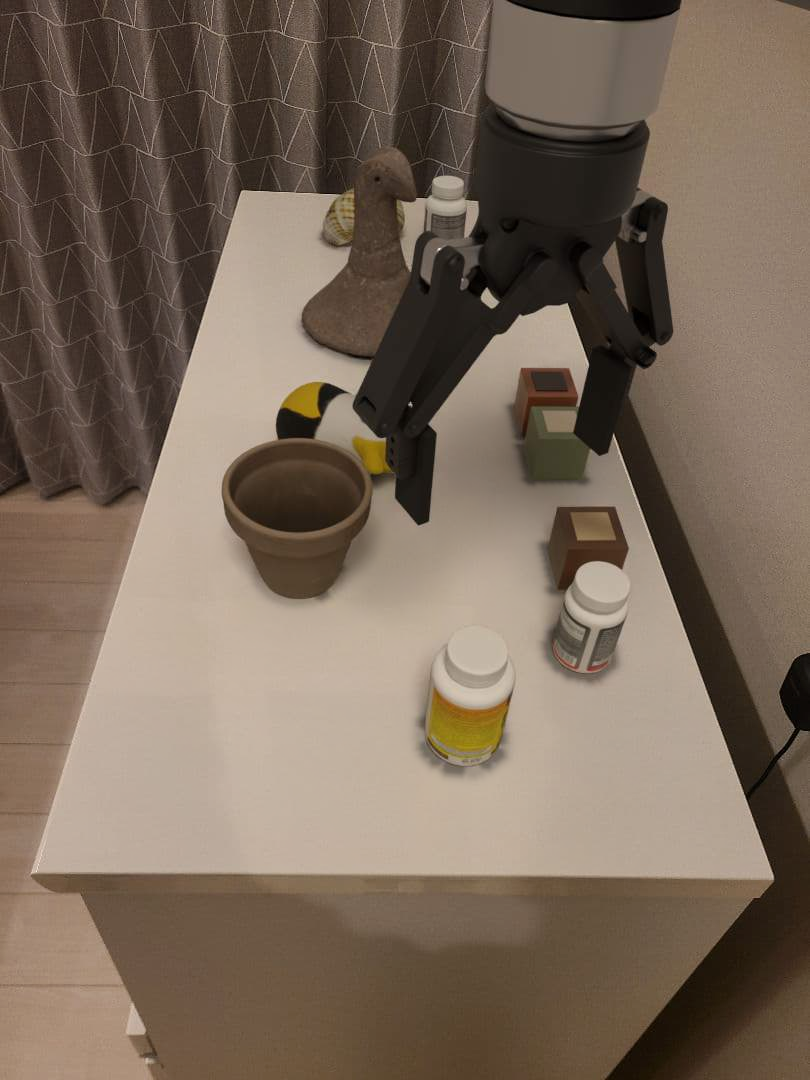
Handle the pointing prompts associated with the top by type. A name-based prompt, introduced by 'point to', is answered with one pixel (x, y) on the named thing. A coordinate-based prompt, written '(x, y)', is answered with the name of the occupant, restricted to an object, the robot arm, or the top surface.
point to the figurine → (331, 423)
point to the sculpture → (367, 261)
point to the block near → (585, 540)
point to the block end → (543, 392)
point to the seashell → (347, 219)
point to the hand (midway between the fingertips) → (505, 475)
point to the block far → (554, 444)
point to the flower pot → (297, 510)
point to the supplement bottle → (469, 696)
